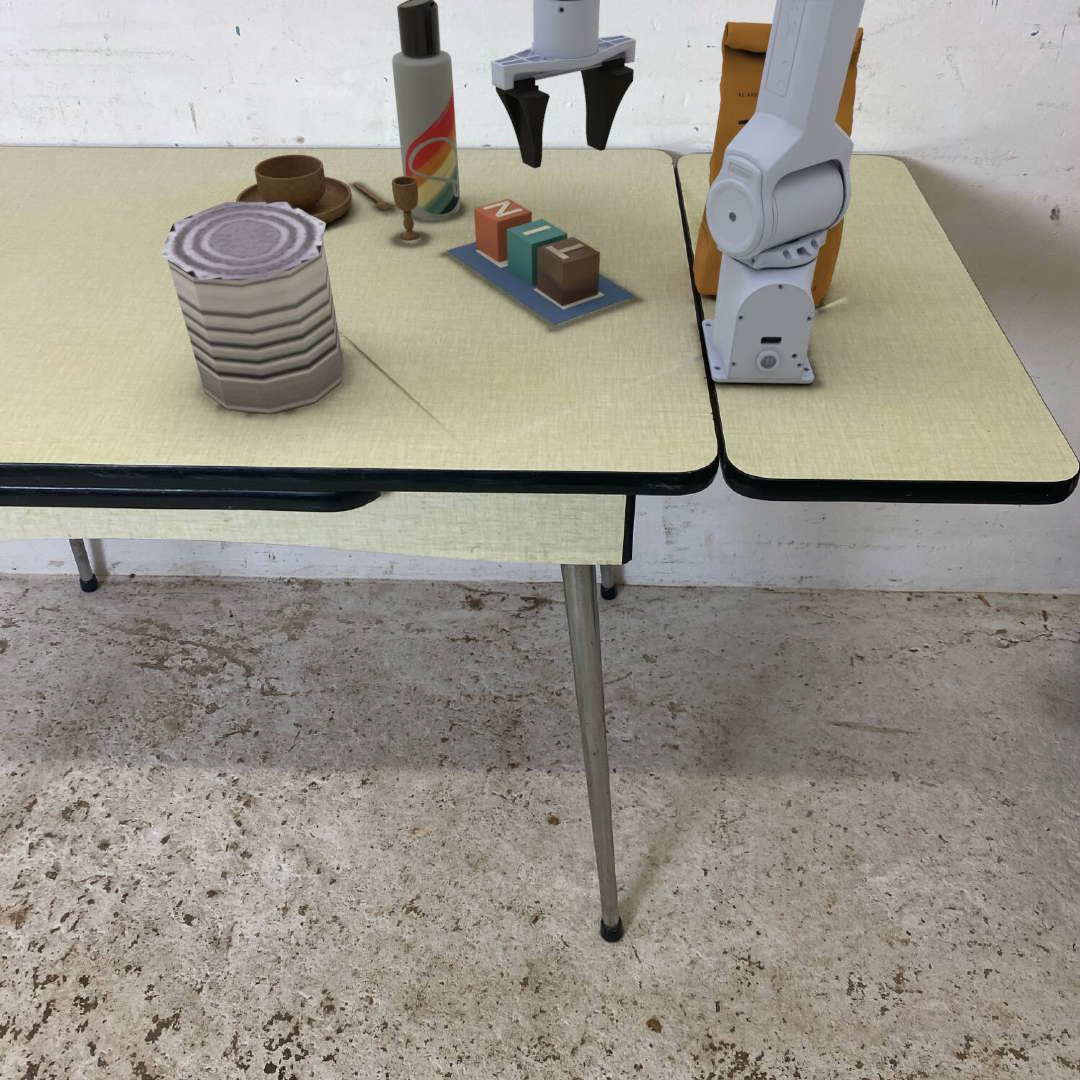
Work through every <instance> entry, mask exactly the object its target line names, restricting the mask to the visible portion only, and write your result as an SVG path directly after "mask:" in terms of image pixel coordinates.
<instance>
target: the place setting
mask: <svg viewBox="0 0 1080 1080" xmlns="http://www.w3.org/2000/svg"><path fill="white" fill-rule="evenodd" d="M254 176H255V179H256V183H254V184H252V185H250V186H248V187H246V188H245V189H244V190H242V191H241V192H240V193H239V194H238V195H237V196H236V200H235V202H288V203H289V204H291V205H293V206H295V207H297V208H299V209H301V210H302V211H304V212H306V213H308V214H310V215H312V216H314V217H315V218H317V219H319V220H321V221H323V222H325V223H326V225H328V224H330V223H332V222H334V221H335V220H338V219H339V218H340V217H342V216H343V215H344V214H345V213H346V212H347V211H348V210H349V208H350V206H351V204H352V201H353V199H352V198H353V194H352V189H351V187H350V186H349V185H348V184H346V183H345V182H343V181H341V180H339V179H336V178H333V177H330V176H325V169H324V163H323V161H322V160H320V159H319V158H318V157H316V156H311V155H307V154H283V155H282V154H281V155H277V156H273V157H269V158H267V159H264V160H262V161H260V162H259V163H257V165H255V167H254ZM353 185H354V187H356V188H357V189H359V190H360V191H361V192H363V193H364V194H365V195H367V196H368V197H370V198H372V199H373V200H374V201H375V202H377V203H376V207H377V208H379V209H389V208H394V207H396V208H397V209H399V210H401V211H402V214H403V221H402V225H403V228H404V229H405V232H403V233H401V234H400V235H399V239H401V240H402V241H407V242H411V241H416V240H418V239H419V238H420V237H421V235H420V234H419V233H418V232H415V231H414V227H415V222H414V219H413V215H412V211H411V210H412V209H414V208H415V207H416V206H417V204H418V186H417V179H416V178H414V177H410V176H403V175H402V176H397V177H394V178H393V179H392V180H391V188H392V196H393V201H394V203H393V204H392V203H388V202H386V201H383V200H382V199H381V198H380V197H378V196H377V195H375V194H374V193H372V192H371V191H370V190H368V189H367V188H366V187H364V186H363V185H361V184H359V183H358V182H353Z"/></svg>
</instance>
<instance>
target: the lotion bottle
mask: <svg viewBox="0 0 1080 1080" xmlns="http://www.w3.org/2000/svg"><path fill="white" fill-rule="evenodd" d="M396 12H397V21H398V32H399V33H398V35H399V42H400V51H399V52H397V53H395V54H394V55H393V56H392V59H391V63H392V64H391V65H392V75H393V84H394V85H393V87H394V96H395V105H396V106H395V107H396V115H397V116H396V117H397V126H398V127H397V128H398V136H399V145H400V146H399V147H400V154H401V166H402V176H410V177H414V178H416V179H417V186H418V204H417V206H416V207H415V208H414V209H412V210H411V211H412V216H414V217H418V218H424V219H440V218H446V217H449V216H452V215H454V214H456V213H458V211H459V210H460V208H461V196H460V195H461V194H460V193H461V191H460V176H459V159H458V158H459V157H458V141H457V127H456V126H457V125H456V112H455V111H456V110H455V95H454V94H455V93H454V80H453V78H454V77H453V65H452V64H453V63H452V57H451V54H450V53H449V52H448V51H445V50H442V49H441V33H440V32H441V31H440V15H439V4H438V3H437V2H436V1H435V0H405V1H403V2H401V3H399V4H398V5H397V6H396Z"/></svg>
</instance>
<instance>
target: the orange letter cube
mask: <svg viewBox="0 0 1080 1080" xmlns="http://www.w3.org/2000/svg"><path fill="white" fill-rule="evenodd" d="M473 210H474V211H473V212H474V215H473V216H474V231H475V232H474V233H475V242H476V248H477V249H479V250H481V251H482V252H484V253H485V254H487V255H488V256H490V257H491V258H493V259H494V260H496V261H497V262H501V261H504V260H507V259H508V253H507V229H509V228H512V227H516V226H519V225H523V224H526V223H530V222H533V211H531V210H530V209H527V208H526V207H524V206H522V205H520V204H519V203H517V202H515V201H514V200H511V198H506V199H502V200H498V201H495V202H491V203H488V204H484V205H480V206H477V207H474V208H473Z"/></svg>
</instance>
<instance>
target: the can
mask: <svg viewBox="0 0 1080 1080" xmlns="http://www.w3.org/2000/svg"><path fill="white" fill-rule="evenodd" d="M326 226H327V224H326V223H325V222H323V221H321V220H319V219H317V218H315V217H314V216H312V215H310V214H308V213H306V212H304V211H302V210H301V209H299V208H297V207H295V206H293V205H291V204H289V203H288V202H236V201H225V202H222V203H219V204H216V205H214V206H212V207H209V208H207V209H204V210H201V211H199V212H196V213H194V214H191V215H189V216H187V217H184V218H182V219H179V220H176V221H174V222H172V226H171V228H170V230H169V232H168V235H167V237H166V240H165V242H164V245H163V247H162V249H161V251H160V253H159V255H160V256H161V257H163V258H164V259H166V260H167V263H168V264H167V265H168V267H169V270H170V275H171V278H172V281H173V285H174V289H175V292H176V295H177V299H178V302H179V307H180V309H181V314H182V317H183V320H184V324H185V327H186V330H187V334H188V338H189V341H190V345H191V348H192V352H193V355H194V359H195V362H196V366H197V370H198V373H199V377H200V380H201V384H202V388H203V391H204V393H205V394H206V395H208V396H209V397H210V398H211V399H212V400H214V401H216V402H217V403H218V404H219V405H221V406H222V407H224V408H225V409H226V410H227V411H237V412H247V413H257V414H266V415H272V414H276V413H280V412H284V411H288V410H292V409H295V408H299V407H304V406H307V405H311V404H315V403H317V402H318V401H320V400H321V399H322V398H323V397H324V396H325V395H327V394H328V393H329V392H331V391H332V390H333V389H334V388H336V387H337V386H338V385H340V383H342V382H343V373H344V372H343V371H344V369H343V366H344V358H343V352H342V351H343V350H342V345H341V339H340V332H339V328H338V327H339V326H338V321H337V314H336V309H335V303H334V297H333V289H332V283H331V278H330V277H331V276H330V272H329V266H328V265H329V264H328V259H327V254H326V247H325V242H324V241H325V240H324V235H325V231H326Z"/></svg>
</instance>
